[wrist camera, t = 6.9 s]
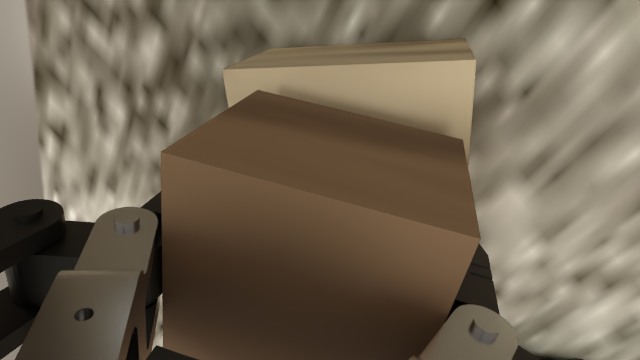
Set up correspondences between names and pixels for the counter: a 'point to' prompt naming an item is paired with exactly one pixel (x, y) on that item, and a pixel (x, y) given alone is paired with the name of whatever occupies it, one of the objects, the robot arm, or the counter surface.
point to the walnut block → (311, 234)
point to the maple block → (371, 81)
